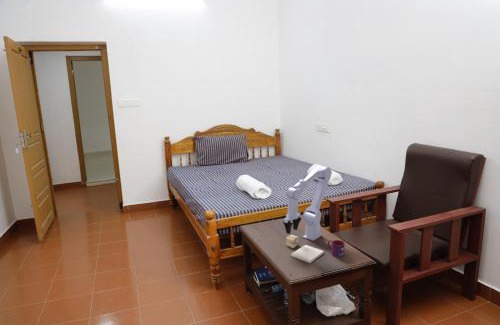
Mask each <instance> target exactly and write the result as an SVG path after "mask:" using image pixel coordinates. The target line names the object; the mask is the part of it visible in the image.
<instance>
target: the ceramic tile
mask: <svg viewBox="0 0 500 325" xmlns="http://www.w3.org/2000/svg"><path fill="white" fill-rule="evenodd" d="M324 253H325V251H324V250H321V249H320V248H316V247H313V246H310V245H307V244H304V245H302V246H301V247H300V248H298V249H296V250H295V251H294V252H291V253H290V256H291V257H292V258H295V259H297V260H301V261H303V262H306V263H308V264H311V263H312V262H314V261H315V260H316V259H319V257H320V256H322V255H323V254H324Z"/></svg>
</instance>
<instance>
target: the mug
mask: <svg viewBox="0 0 500 325" xmlns="http://www.w3.org/2000/svg"><path fill="white" fill-rule="evenodd" d="M330 242H331V244H330ZM345 245H346V244H345V242H344V241H343V240H341V239H335V240H331V239H330V240H328V242H327V246H328V248H329V249H330V250H331V255H332V256H333V257H334V258H342V257H344V256H345Z"/></svg>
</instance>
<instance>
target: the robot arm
mask: <svg viewBox="0 0 500 325" xmlns="http://www.w3.org/2000/svg"><path fill="white" fill-rule="evenodd" d="M332 173H333V172H332V169H331V167H329V166H328V167H327V166H323V165H319V164H315V165H314V166H312V168H311V171H310V173H308V174H307V176H306V177H305V178H304V179H299V181H298V182H296V184H295V185H293V186H291V187H289V188H288V189H287V190H286V193H285V195H286V197H287V214H285V217H284V219H283V220H282V223H283V225H284V229H285V231H286V234H287V235H288V234H290V235H291V232H292V230H294V231H297V230H298V228H299V224H300V222H301V220H303V221H304V223H305V234H304V235H302V238H305V239H307V240H310V241H316V240H317V239H319V238H320V237H321V236H322V234H321V227H322V226H321V220H322V211H321V210H320V208H321V205H322V202H323V199H324V196H325V193H326V191H327V188H328V185H329V182H330V180H331V177H332V175H333V174H332ZM315 179H317V180H318V184H317V187H316V190H315V193H314V196H313V197H312V201H311V204H310V206H308V207H306V208H305V211H304V212H303V214H302V217H301V213H300V212H299V199H300V198H301V196H302V194H303V192H304V191H305V190H307V189H308V188H309V184H310V183H311V182H312V181H314V180H315ZM291 221H292V222H291ZM292 228H293V229H292Z"/></svg>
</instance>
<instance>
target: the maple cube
mask: <svg viewBox="0 0 500 325" xmlns="http://www.w3.org/2000/svg"><path fill="white" fill-rule="evenodd" d="M298 245H299V236H297V235H293V234H290V235H288V236H286V238H285V246H286V247H290V248H292V249H293V248H296V247H297V246H298Z"/></svg>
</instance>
